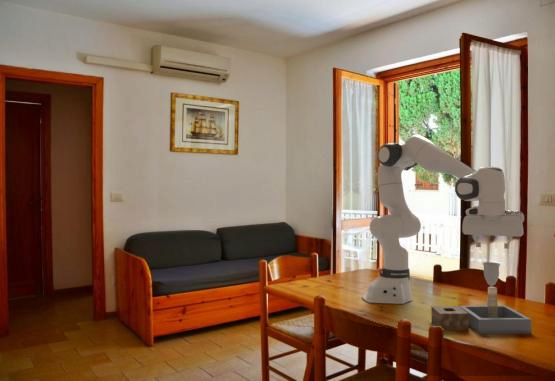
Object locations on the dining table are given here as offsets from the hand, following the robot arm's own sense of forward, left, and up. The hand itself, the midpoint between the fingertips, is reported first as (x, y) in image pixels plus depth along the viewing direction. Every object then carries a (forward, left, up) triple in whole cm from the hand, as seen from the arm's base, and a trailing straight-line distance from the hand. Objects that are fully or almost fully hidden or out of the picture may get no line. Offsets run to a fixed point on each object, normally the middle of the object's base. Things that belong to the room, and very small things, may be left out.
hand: (492, 247), depth 162 cm
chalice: (+12, +28, -29) cm, 42 cm away
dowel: (0, 0, -28) cm, 28 cm away
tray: (0, 0, -29) cm, 29 cm away
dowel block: (-16, 0, -29) cm, 33 cm away
